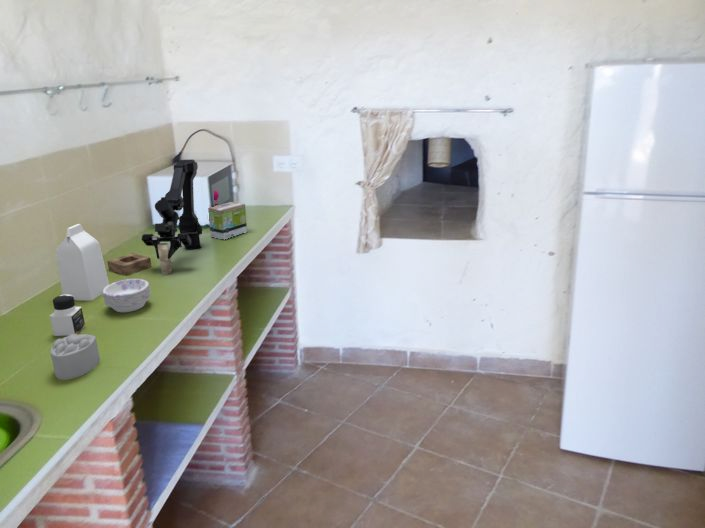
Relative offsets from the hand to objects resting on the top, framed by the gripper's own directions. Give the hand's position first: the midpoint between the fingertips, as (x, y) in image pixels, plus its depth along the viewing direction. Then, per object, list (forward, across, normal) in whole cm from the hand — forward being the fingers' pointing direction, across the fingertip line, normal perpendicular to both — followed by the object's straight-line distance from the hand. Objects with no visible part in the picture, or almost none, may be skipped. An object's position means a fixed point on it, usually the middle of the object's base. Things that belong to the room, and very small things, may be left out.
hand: (163, 258), depth 238 cm
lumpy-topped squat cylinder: (+58, +2, -48) cm, 75 cm away
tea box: (-33, +12, +42) cm, 55 cm away
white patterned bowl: (+28, -1, -18) cm, 33 cm away
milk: (+19, -22, -9) cm, 31 cm away
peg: (+4, 0, +6) cm, 7 cm away
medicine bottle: (+41, -12, -32) cm, 53 cm away
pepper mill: (-45, 0, +54) cm, 70 cm away
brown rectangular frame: (0, -18, +10) cm, 20 cm away
